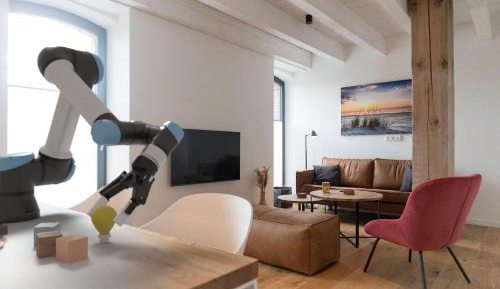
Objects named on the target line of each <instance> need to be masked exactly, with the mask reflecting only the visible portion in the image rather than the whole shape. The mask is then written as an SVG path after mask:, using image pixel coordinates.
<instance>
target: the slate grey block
mask: <svg viewBox="0 0 500 289" xmlns="http://www.w3.org/2000/svg"><path fill="white" fill-rule="evenodd" d="M58 230H59V231H60V232H61V221H59V222H58V221H57V222H40V223H38V224H37V225H35V226H34V227H33V247H36V233H43V232H50V231H58Z"/></svg>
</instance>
